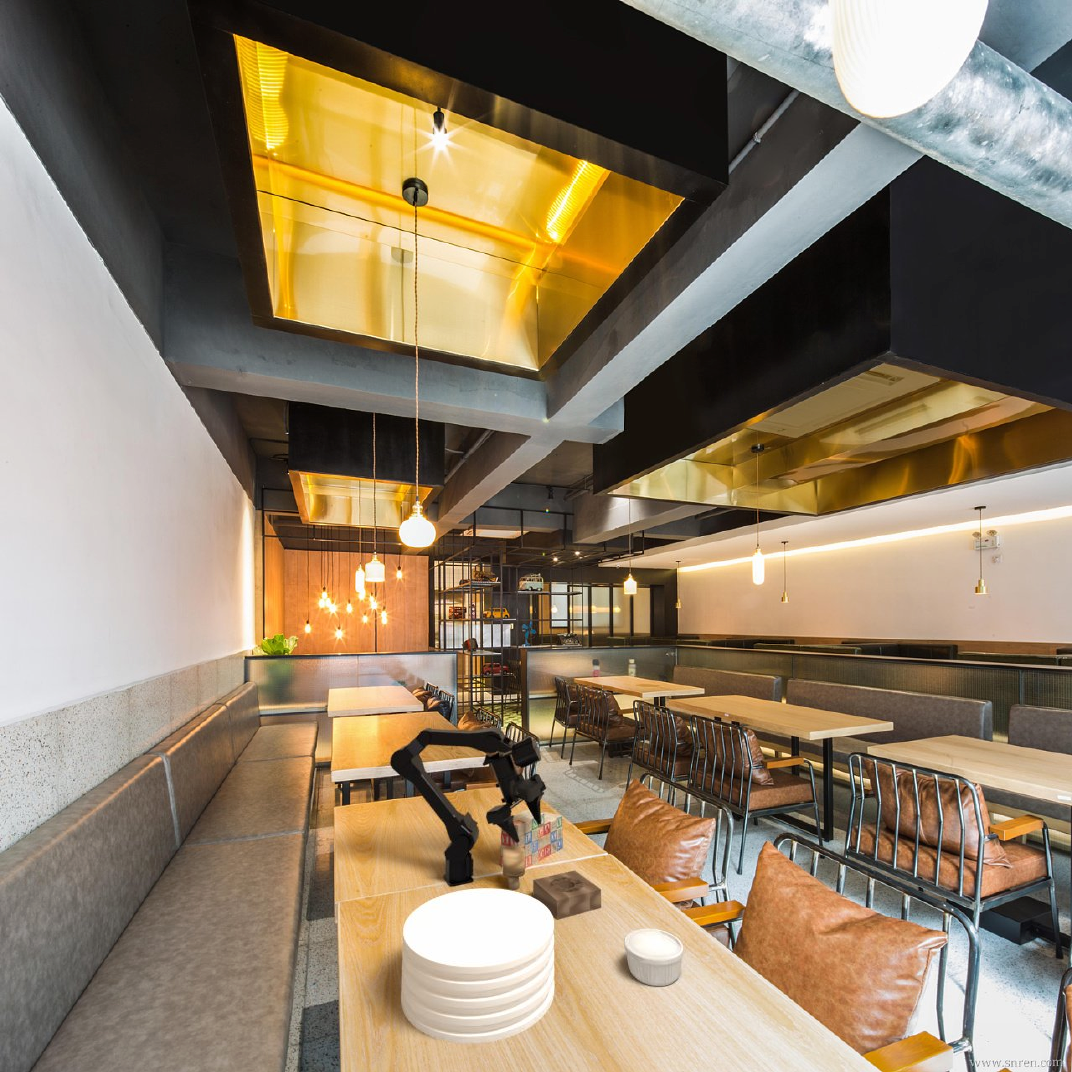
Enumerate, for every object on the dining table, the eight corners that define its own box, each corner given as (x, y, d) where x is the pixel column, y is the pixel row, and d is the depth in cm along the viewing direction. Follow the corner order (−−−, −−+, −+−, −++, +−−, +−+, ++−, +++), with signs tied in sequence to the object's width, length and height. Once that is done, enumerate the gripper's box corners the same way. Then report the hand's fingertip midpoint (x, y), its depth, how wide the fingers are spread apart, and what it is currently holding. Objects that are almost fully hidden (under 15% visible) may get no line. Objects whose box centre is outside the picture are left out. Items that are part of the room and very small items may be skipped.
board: (557, 919, 131) (556, 900, 131) (533, 897, 141) (533, 879, 142) (601, 907, 136) (600, 889, 137) (575, 887, 147) (574, 870, 147)
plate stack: (478, 932, 126) (479, 876, 127) (584, 982, 108) (583, 916, 110) (369, 997, 104) (371, 928, 106) (478, 1072, 87) (479, 988, 89)
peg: (508, 894, 143) (508, 856, 144) (499, 885, 148) (499, 848, 149) (528, 889, 145) (528, 851, 147) (519, 881, 150) (519, 844, 152)
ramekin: (696, 976, 110) (695, 946, 111) (655, 998, 103) (654, 966, 104) (653, 949, 119) (652, 922, 120) (613, 968, 112) (612, 939, 113)
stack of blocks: (546, 843, 176) (546, 801, 178) (563, 848, 172) (562, 805, 174) (500, 867, 159) (500, 820, 161) (518, 873, 156) (518, 824, 157)
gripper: (503, 786, 142) (527, 849, 139) (548, 755, 156) (571, 812, 154) (475, 792, 148) (497, 853, 146) (521, 762, 163) (542, 817, 160)
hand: (529, 833), depth 151 cm, fingers open, 9 cm apart
